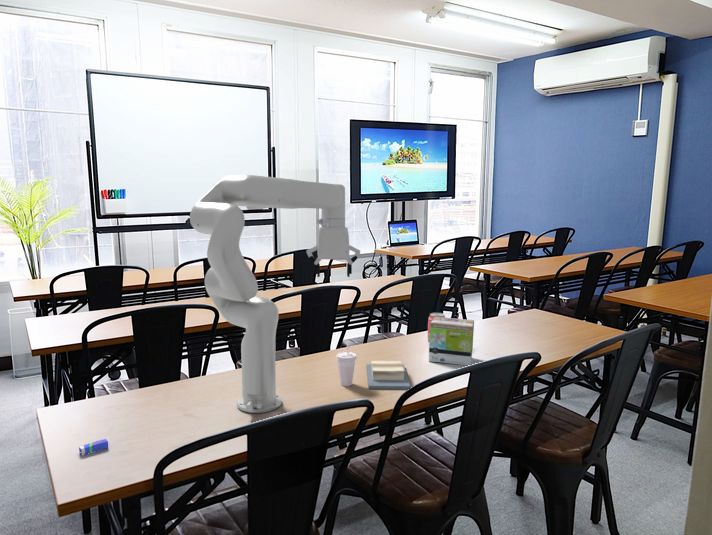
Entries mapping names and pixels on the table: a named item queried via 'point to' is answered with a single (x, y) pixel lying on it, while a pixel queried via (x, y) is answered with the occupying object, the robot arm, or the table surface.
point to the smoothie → (346, 366)
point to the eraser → (93, 446)
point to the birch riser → (387, 370)
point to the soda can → (431, 321)
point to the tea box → (451, 340)
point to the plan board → (387, 381)
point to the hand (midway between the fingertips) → (333, 276)
